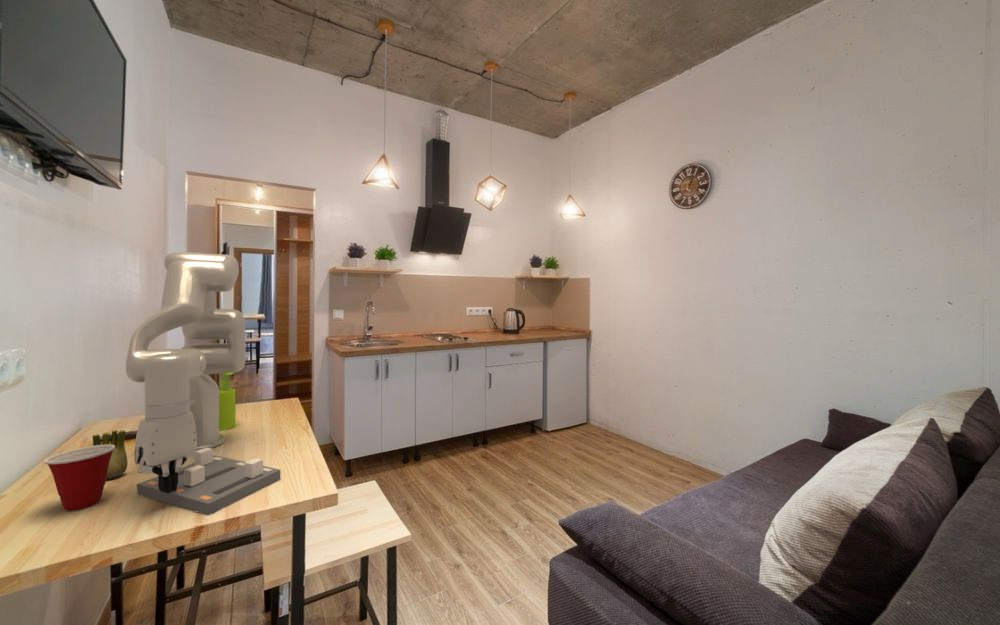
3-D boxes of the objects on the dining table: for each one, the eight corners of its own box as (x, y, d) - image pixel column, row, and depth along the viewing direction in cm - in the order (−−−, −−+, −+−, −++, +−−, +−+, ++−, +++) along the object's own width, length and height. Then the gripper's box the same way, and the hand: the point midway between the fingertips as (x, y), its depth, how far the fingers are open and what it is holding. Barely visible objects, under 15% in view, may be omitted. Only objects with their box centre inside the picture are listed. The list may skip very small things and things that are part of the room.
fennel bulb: (89, 482, 97) (89, 434, 97) (105, 473, 102) (104, 428, 102) (117, 480, 98) (116, 433, 98) (131, 472, 103) (130, 427, 103)
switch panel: (137, 494, 92) (136, 483, 92) (214, 464, 109) (214, 454, 109) (208, 515, 84) (208, 503, 84) (280, 479, 101) (280, 469, 101)
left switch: (194, 464, 102) (194, 451, 102) (206, 460, 105) (206, 447, 105) (200, 466, 101) (200, 453, 101) (212, 461, 104) (212, 448, 104)
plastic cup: (101, 488, 94) (100, 439, 94) (126, 498, 90) (125, 446, 90) (34, 510, 84) (33, 455, 84) (59, 522, 80) (58, 464, 80)
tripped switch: (184, 484, 92) (184, 470, 92) (197, 479, 94) (197, 464, 94) (191, 486, 91) (191, 471, 91) (204, 480, 94) (204, 466, 94)
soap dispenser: (221, 432, 134) (221, 374, 133) (212, 428, 138) (211, 371, 137) (240, 427, 139) (240, 371, 138) (230, 423, 143) (230, 369, 142)
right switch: (244, 476, 96) (244, 462, 96) (255, 471, 99) (256, 458, 99) (251, 478, 96) (251, 464, 95) (263, 473, 98) (263, 459, 98)
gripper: (192, 399, 95) (192, 474, 96) (114, 417, 81) (116, 503, 82) (214, 403, 93) (214, 479, 93) (137, 421, 79) (139, 511, 79)
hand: (168, 490), depth 88 cm, fingers closed
